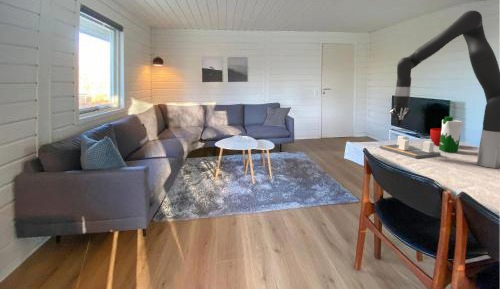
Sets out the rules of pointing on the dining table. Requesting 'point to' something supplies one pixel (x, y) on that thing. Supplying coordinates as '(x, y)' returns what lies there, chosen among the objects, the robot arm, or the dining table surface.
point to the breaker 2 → (428, 146)
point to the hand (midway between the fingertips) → (398, 126)
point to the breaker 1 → (401, 138)
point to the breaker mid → (403, 144)
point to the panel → (410, 151)
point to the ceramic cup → (435, 135)
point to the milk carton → (450, 135)
